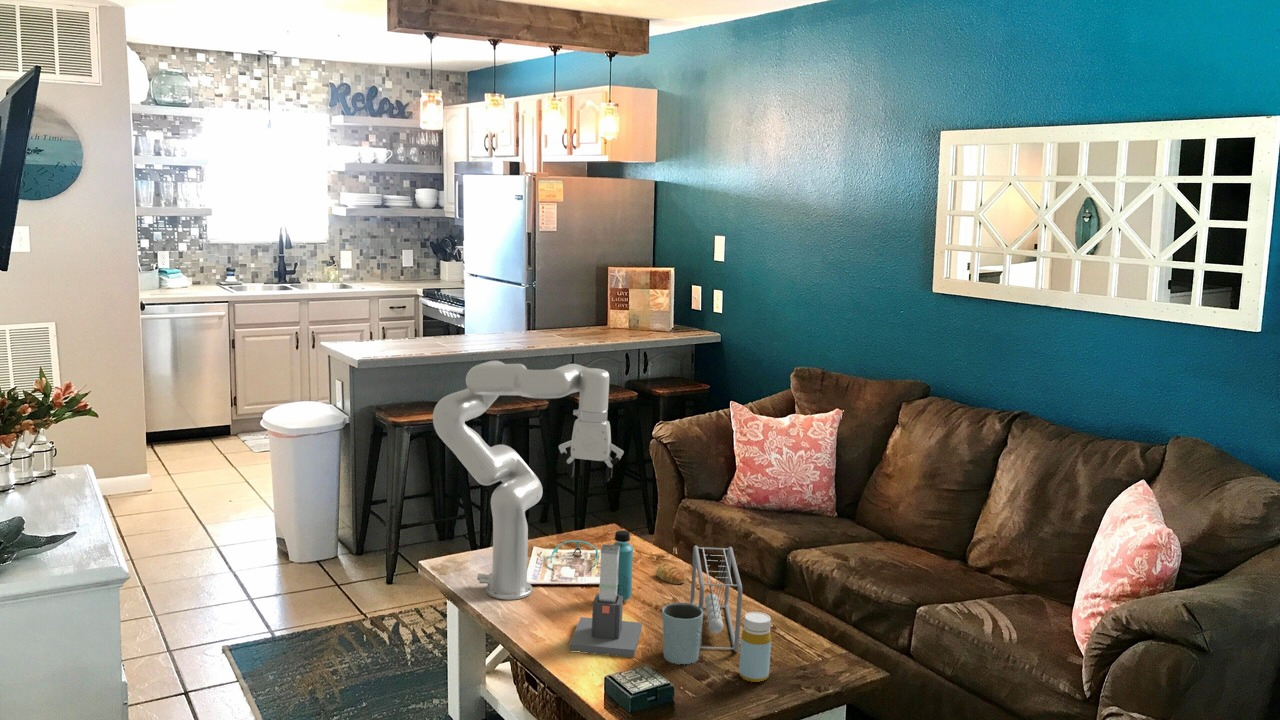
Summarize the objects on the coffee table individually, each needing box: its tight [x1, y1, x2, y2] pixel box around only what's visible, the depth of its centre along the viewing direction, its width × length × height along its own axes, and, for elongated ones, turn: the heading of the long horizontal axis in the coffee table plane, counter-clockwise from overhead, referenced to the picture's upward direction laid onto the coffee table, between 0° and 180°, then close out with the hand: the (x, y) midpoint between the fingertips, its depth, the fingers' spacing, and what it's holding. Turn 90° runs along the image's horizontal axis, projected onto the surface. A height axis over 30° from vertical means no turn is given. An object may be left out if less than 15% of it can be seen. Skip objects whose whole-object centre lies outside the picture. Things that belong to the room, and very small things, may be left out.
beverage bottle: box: [612, 529, 634, 601], centre depth 287 cm, size 6×7×20 cm
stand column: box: [598, 544, 620, 604], centre depth 261 cm, size 4×4×15 cm
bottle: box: [738, 611, 772, 683], centre depth 247 cm, size 7×7×15 cm
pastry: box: [655, 562, 687, 585], centre depth 306 cm, size 9×7×4 cm
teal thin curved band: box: [550, 540, 599, 569], centre depth 315 cm, size 14×15×5 cm
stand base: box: [569, 593, 643, 658], centre depth 263 cm, size 16×16×11 cm
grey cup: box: [661, 602, 704, 666], centre depth 256 cm, size 10×10×12 cm
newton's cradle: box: [689, 545, 743, 652], centre depth 273 cm, size 30×10×18 cm, turn 0°
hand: (589, 478), depth 278 cm, fingers open, 9 cm apart
